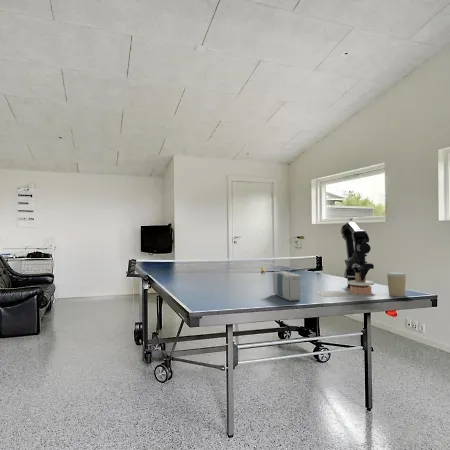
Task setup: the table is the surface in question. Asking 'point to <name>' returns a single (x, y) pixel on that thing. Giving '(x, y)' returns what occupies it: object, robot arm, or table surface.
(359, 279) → the lid
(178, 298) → the table surface
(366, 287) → the bowl
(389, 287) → the coffee cup
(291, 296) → the white blue box
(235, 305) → the table surface
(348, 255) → the robot arm
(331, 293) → the mat
